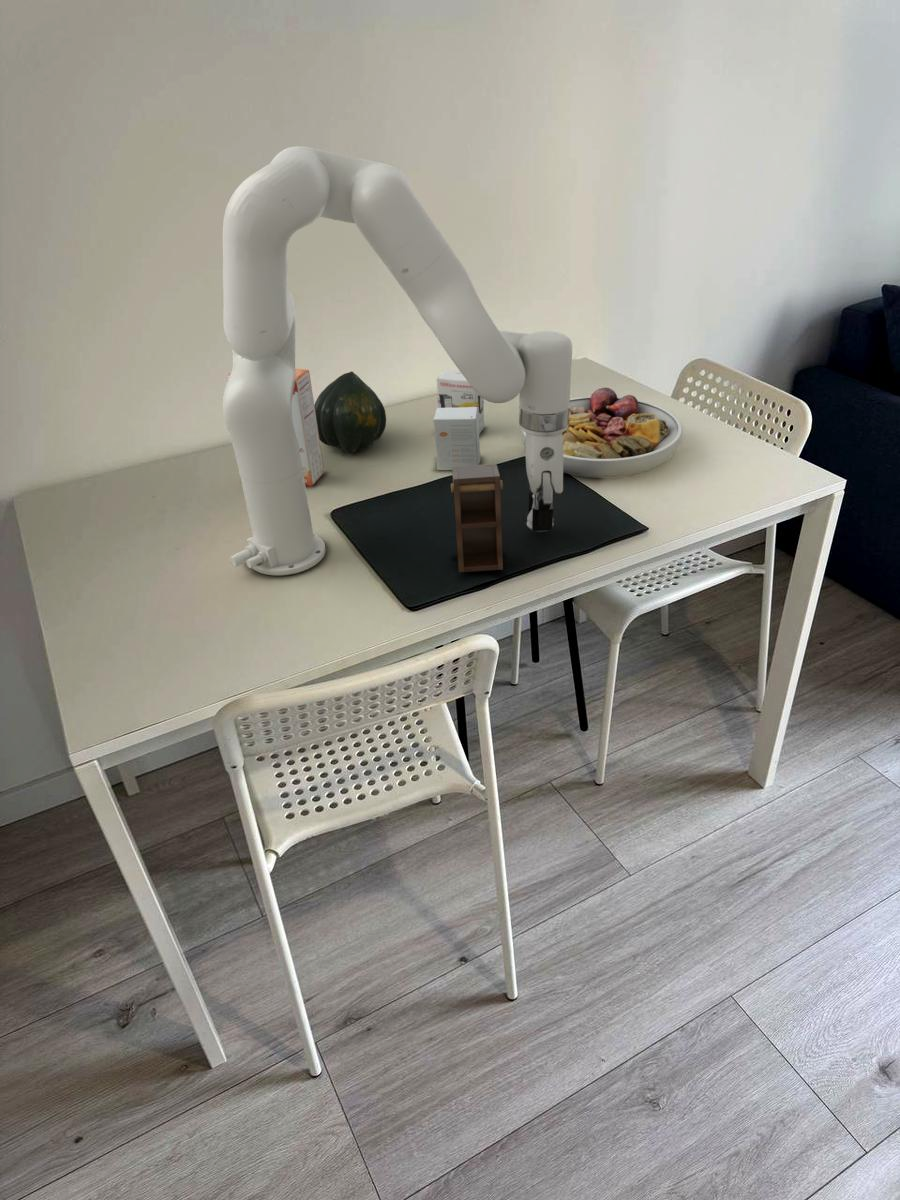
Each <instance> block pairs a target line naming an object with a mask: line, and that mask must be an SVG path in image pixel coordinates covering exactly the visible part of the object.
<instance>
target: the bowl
mask: <svg viewBox="0 0 900 1200" xmlns="http://www.w3.org/2000/svg"><path fill="white" fill-rule="evenodd" d="M521 431H522V433H521V434H522V441H523V443H524V445H525V447H526V432H524V431H523V430H521ZM682 433H683V425H682V423H681V422H680V420H679V418H677V416H675V415H674V414H673V413H672V412H670V411H669V410H667V409H665V408H663V407H661V406H659V405H656V404H654V403H650V402H648V401H643V400H640V399H637V397H636V396H635V395H632V394H627V395H624V396H622V397H621V396H620V397H619V396H618V395H617V393H616V391H615V390H614V389H612V388H610V387H601V388H597V389H596V390H594V391H593V392H592V394H591V395H590V396H583V397H574V398H570V404H569V423H568V428H567V430H565V431H564V432H562V435H563V474H567V475H571V476H576V477H583V478H592V479H593V478H594V479H595V478H596V479H613V478H621V477H629V476H634V475H638V474H642V473H645V472H647V471H650V470H652V469H655V468H657V467H658V466H661V465H662V464H664V463H665V462H667V461H668V460H669V459H670V458H671V457H672V456H673V455H674V454H675V452H676V451H677V450H678V447H679V446H680V443H681V440H682Z"/></svg>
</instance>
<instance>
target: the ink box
mask: <svg viewBox="0 0 900 1200" xmlns="http://www.w3.org/2000/svg"><path fill="white" fill-rule="evenodd" d="M436 395H437V396H436V397H437V408H458V407H477V408H478V423H479V435H480V434H481V433H482V431H483V430H484V429H485V404H484V403H485V399H483V398H482V397H481V396H479V395H478V394H477V393H476V391H475V390H474V389H473V388H472V386H471V385H470V384H469V382H468V381H467V380H466V378H465V377H464V376H463V374H462V373H461V372H460V370H451V369H446V370H443V372H442V373H441V374H440V375H438V376H437V378H436Z"/></svg>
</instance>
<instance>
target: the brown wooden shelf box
mask: <svg viewBox="0 0 900 1200" xmlns="http://www.w3.org/2000/svg"><path fill="white" fill-rule="evenodd" d="M451 474H452V475H451V476H452V483H450V493H451V494H453V507H454V522H455V523H454V524H455V540H456V541H455V542H456V556H457V557H456V558H457V567H458V573H473V572H486V571H487V572H488V571H500V570H504V557H503V556H504V554H503V527H502V525H503V524H502V498H501V497H502V495H501V490H502V491H503V489H504V483H503V480H502V479H501V475H500V472H499V468H498V463H487V464H479V465H471V466H456V467H452V470H451Z"/></svg>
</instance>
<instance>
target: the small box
mask: <svg viewBox="0 0 900 1200" xmlns="http://www.w3.org/2000/svg"><path fill="white" fill-rule="evenodd" d="M433 416H434V417H433V421H432V422H433V431H434V444H435V446H434V447H435V457H436V467H437V468H436V469H437V471H452V467H456V466H471V465H480V461H481V445H480V444H481V443H480V434H479V423H478V408H477V407H458V408H438V407H436V409H435V413H434V415H433Z"/></svg>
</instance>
